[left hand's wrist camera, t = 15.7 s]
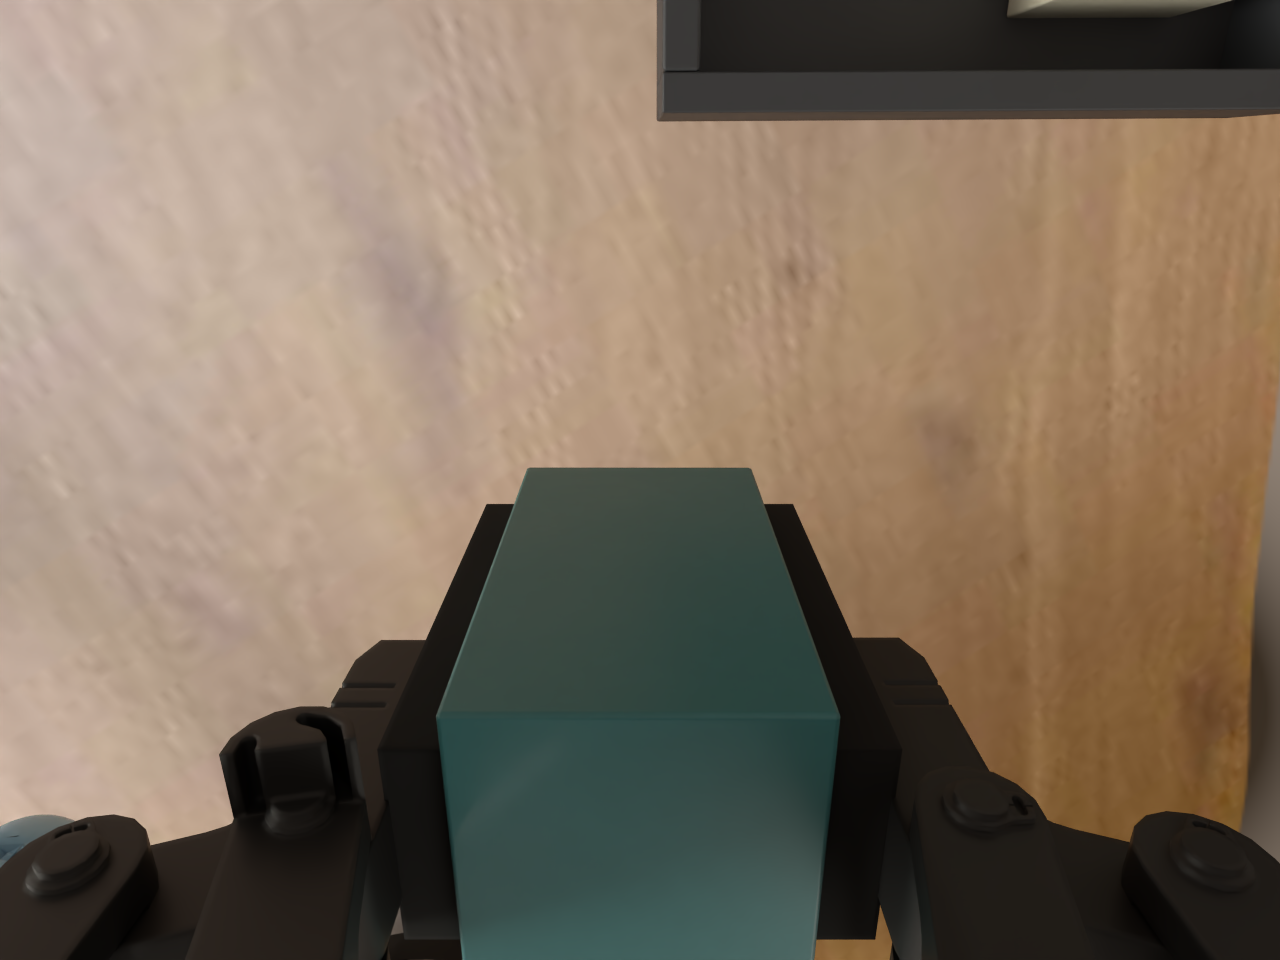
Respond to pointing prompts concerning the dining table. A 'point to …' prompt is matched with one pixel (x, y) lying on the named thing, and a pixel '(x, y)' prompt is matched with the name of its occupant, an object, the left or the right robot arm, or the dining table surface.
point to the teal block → (638, 729)
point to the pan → (959, 62)
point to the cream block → (1104, 8)
